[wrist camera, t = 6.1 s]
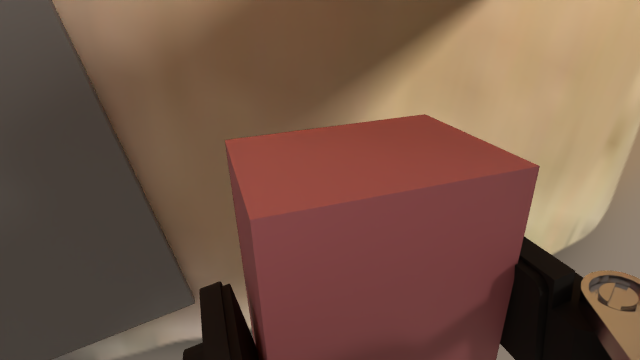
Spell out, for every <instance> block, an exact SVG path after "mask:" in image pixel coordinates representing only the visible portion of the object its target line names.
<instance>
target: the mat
mask: <svg viewBox="0 0 640 360" xmlns="http://www.w3.org/2000/svg"><path fill="white" fill-rule="evenodd" d="M192 304H195V303H194V297H193V294H192V292H191V290H190V288H189V286H188V284H187V282H186V280H185V278H184V276H183V274H182V272H181V269H180V267H179V265H178V263H177V261H176V259H175V257H174V255H173V253H172V251H171V249H170V246H169V244H168V242H167V240H166V238H165V236H164V234H163V232H162V230H161V228H160V226H159V224H158V221H157V219H156V217H155V215H154V213H153V211H152V209H151V207H150V205H149V203H148V201H147V198H146V196H145V194H144V192H143V190H142V188H141V186H140V184H139V182H138V180H137V178H136V176H135V173H134V171H133V169H132V167H131V165H130V163H129V161H128V159H127V157H126V155H125V153H124V150H123V148H122V146H121V144H120V142H119V140H118V138H117V136H116V134H115V132H114V130H113V128H112V125H111V123H110V121H109V119H108V117H107V115H106V113H105V111H104V109H103V107H102V105H101V103H100V100H99V98H98V96H97V94H96V92H95V90H94V88H93V86H92V84H91V82H90V80H89V77H88V75H87V73H86V71H85V69H84V67H83V65H82V63H81V61H80V59H79V57H78V55H77V52H76V50H75V48H74V46H73V44H72V42H71V40H70V38H69V36H68V34H67V32H66V29H65V27H64V25H63V23H62V21H61V19H60V17H59V15H58V13H57V11H56V9H55V7H54V4H53V2H52V0H0V360H51V359H54V358H56V357H59V356H61V355H64V354H67V353H69V352H72V351H74V350H77V349H79V348H82V347H85V346H87V345H90V344H92V343H95V342H97V341H100V340H102V339H105V338H108V337H110V336H113V335H115V334H118V333H120V332H123V331H126V330H128V329H131V328H133V327H136V326H138V325H141V324H143V323H146V322H149V321H151V320H154V319H156V318H159V317H161V316H164V315H166V314H169V313H172V312H174V311H177V310H179V309H182V308H184V307H187V306H190V305H192Z"/></svg>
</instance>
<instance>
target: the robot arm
mask: <svg viewBox="0 0 640 360" xmlns="http://www.w3.org/2000/svg"><path fill="white" fill-rule="evenodd" d="M200 307H201V323H202V338H203V343H200V344H198V345H195V346H193V347H190V348H188V349H185V350H184V352H183V360H259V357H258V353H257V348H256V345H255V343H254V340H253V338H252V336H251V333H250V331H249V328H248V326H247V323H246V321H245V319H244V316H243V314H242V311H241V309H240V306H239V304H238V302H237V299H236V297H235V294H234V292H233V289H232V287H231V285H230V284H227V285H225V286H223V285H222V283H221V282H217V283H214V284H212V285H209V286H206V287H204V288H201V289H200ZM500 344H501V345H502V346H503V347H504V348H505V349H506V350H507V351H508V352H509V353H510V355H511V356H513V358H514V359H515V360H640V279H638V278H637V277H634V276H631V275H628V274H626V273H622V272H617V271H597V272H592V273H590V274H588V275H586V276H585V277H584V278H583V277H581V276H580V275H578V274H577V273H575V271H574V270H573V269H571V268H570V267H569V266H567V265H566V264H564V263H563V262H561V261H560V260H558V259H557V258H555V257H554V256H552V255H551V254H549V253H548V252H546V251H545V250H543V249H542V248H540V247H539V246H537V245H536V244H534V243H533V242H531V241H530V240H528V239H527V238H526V237H524V238H523V242H522V247H521V251H520V256H519V260H518V264H515V274H514V282H513V287H512V291H511V296H510V300H509V304H508V309H507V313H506V318H505V322H504V327H503V331H502V335H501V340H500Z"/></svg>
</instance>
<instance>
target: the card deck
mask: <svg viewBox="0 0 640 360" xmlns="http://www.w3.org/2000/svg"><path fill="white" fill-rule="evenodd" d="M225 145H226V152H227V159H228V166H229V173H230V180H231V187H232V194H233V201H234V208H235V215H236V222H237V229H238V236H239V242H240V249H241V256H242V263H243V270H244V277H245V284H246V291H247V298H248V305H249V312H250V319H251V326H252V333H253V340H254V343H255V345H256V348H257V353H258V357H259V360H496V358H497V353H498V349H499V344H500V340H501V335H502V331H503V327H504V322H505V318H506V313H507V309H508V304H509V300H510V296H511V291H512V287H513V282H514V274H515V264H518V260H519V256H520V251H521V247H522V242H523V238H524V233H525V229H526V224H527V220H528V216H529V211H530V207H531V202H532V198H533V193H534V189H535V184H536V180H537V176H538V171H539V167H540V166H538V165H536V164H534V163H531V162H529V161H527V160H525V159H523V158H520V157H518V156H516V155H514V154H512V153H509V152H507V151H505V150H503V149H501V148H498V147H496V146H494V145H492V144H489V143H487V142H485V141H483V140H481V139H478V138H476V137H474V136H472V135H470V134H467V133H465V132H463V131H461V130H459V129H456V128H454V127H452V126H450V125H447V124H445V123H443V122H441V121H439V120H436V119H434V118H432V117H430V116H428V115H425V114H424V115H416V116H408V117H401V118H393V119H385V120H377V121H369V122H362V123H354V124H346V125H338V126H330V127H323V128H315V129H307V130H299V131H291V132H284V133H276V134H268V135H260V136H253V137H245V138H237V139H229V140H225Z"/></svg>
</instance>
